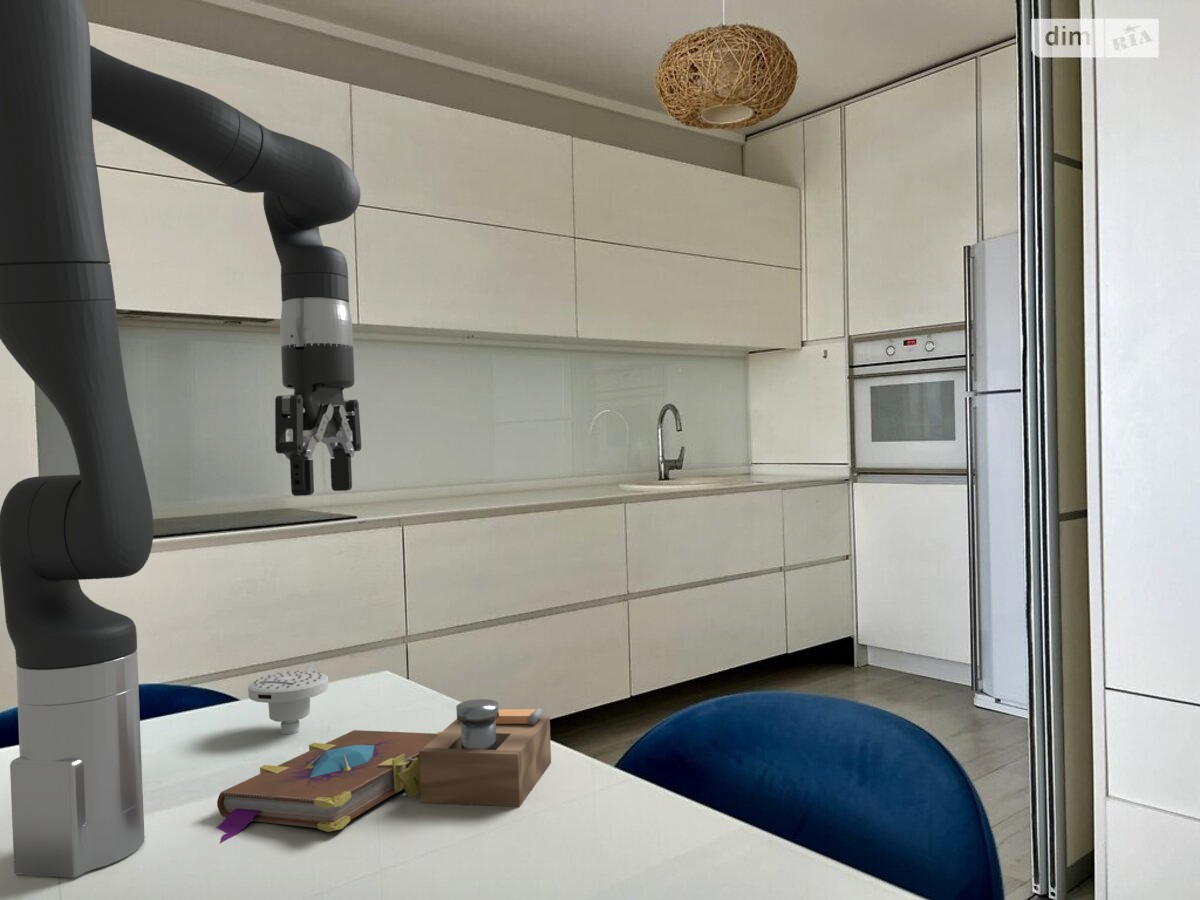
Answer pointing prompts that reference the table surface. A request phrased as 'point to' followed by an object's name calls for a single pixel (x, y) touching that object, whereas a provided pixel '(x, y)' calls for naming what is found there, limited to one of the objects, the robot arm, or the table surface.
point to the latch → (519, 716)
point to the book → (327, 782)
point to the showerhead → (288, 695)
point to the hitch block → (485, 766)
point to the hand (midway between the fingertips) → (323, 492)
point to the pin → (478, 724)
